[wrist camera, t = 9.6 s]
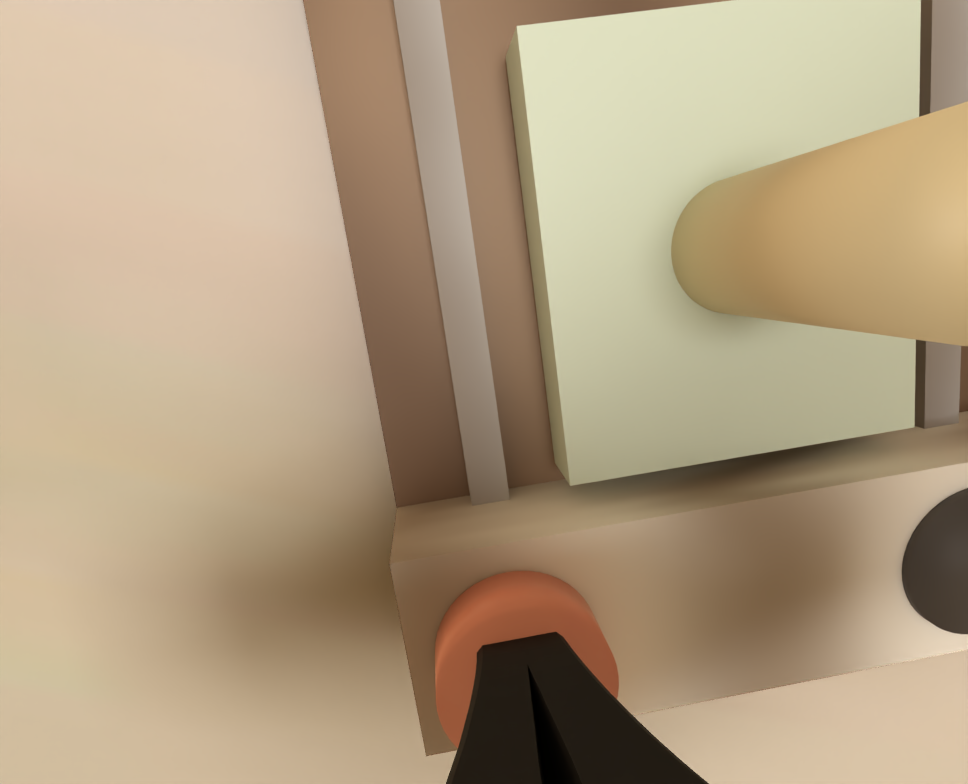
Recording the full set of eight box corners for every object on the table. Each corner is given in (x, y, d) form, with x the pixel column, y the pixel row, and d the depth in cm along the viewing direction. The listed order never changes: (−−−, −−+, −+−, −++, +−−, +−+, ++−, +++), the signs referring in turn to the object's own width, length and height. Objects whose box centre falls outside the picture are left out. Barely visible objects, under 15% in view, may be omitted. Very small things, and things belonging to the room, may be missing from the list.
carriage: (861, 13, 11) (1396, -307, 5) (863, 410, 13) (1266, 538, 7) (505, 57, 11) (610, -234, 5) (554, 462, 13) (679, 650, 6)
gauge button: (589, 557, 10) (609, 592, 9) (605, 701, 11) (626, 751, 10) (422, 587, 10) (422, 628, 9) (448, 732, 11) (450, 787, 10)
